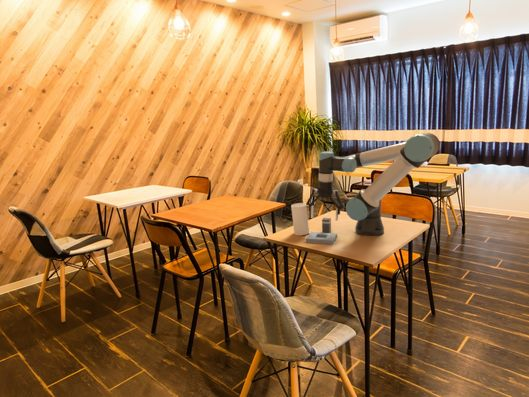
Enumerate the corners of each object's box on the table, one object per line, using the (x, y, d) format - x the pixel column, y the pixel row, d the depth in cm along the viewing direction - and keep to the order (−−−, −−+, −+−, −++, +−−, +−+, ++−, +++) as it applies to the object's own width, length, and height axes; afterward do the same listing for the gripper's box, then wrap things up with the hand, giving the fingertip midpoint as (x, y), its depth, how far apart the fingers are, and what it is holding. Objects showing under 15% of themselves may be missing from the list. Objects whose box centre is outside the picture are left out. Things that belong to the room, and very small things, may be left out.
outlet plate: (337, 237, 207) (337, 233, 206) (332, 244, 196) (332, 240, 195) (311, 235, 212) (311, 231, 211) (305, 242, 201) (305, 238, 200)
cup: (308, 234, 211) (305, 206, 208) (293, 235, 213) (290, 207, 209) (309, 230, 219) (306, 202, 216) (295, 231, 221) (292, 203, 217)
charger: (331, 232, 216) (330, 218, 214) (329, 234, 212) (329, 220, 211) (323, 231, 217) (323, 217, 216) (322, 233, 214) (322, 219, 212)
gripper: (350, 181, 208) (348, 219, 213) (304, 178, 217) (303, 214, 222) (348, 183, 201) (346, 223, 206) (301, 180, 210) (300, 218, 215)
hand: (324, 219), depth 214 cm, fingers open, 13 cm apart
